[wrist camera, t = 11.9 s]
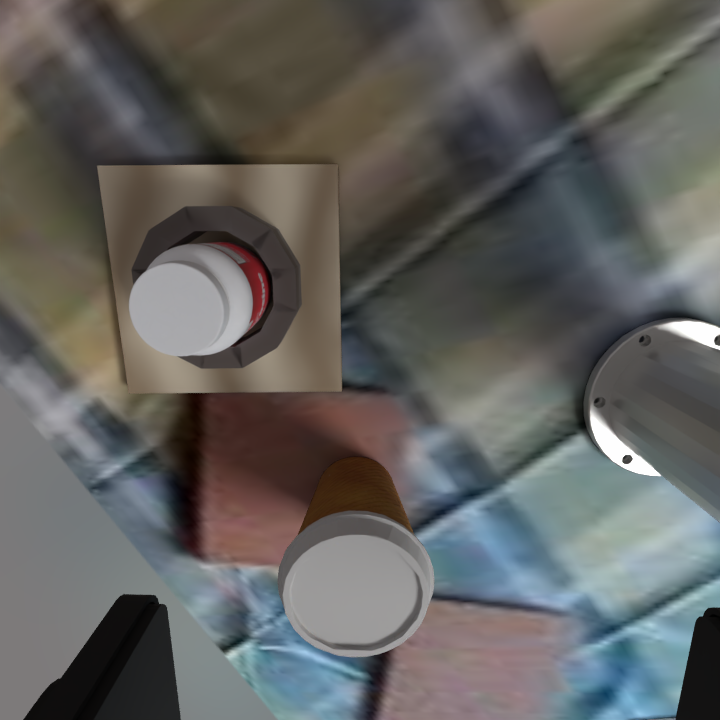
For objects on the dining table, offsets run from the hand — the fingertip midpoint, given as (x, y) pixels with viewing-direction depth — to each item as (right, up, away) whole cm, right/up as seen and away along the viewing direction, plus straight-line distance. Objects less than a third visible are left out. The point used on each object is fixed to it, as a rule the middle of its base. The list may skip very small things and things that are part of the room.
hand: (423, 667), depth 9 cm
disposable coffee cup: (-1, -5, +32) cm, 32 cm away
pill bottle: (-10, +11, +26) cm, 30 cm away
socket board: (-11, +11, +27) cm, 31 cm away
